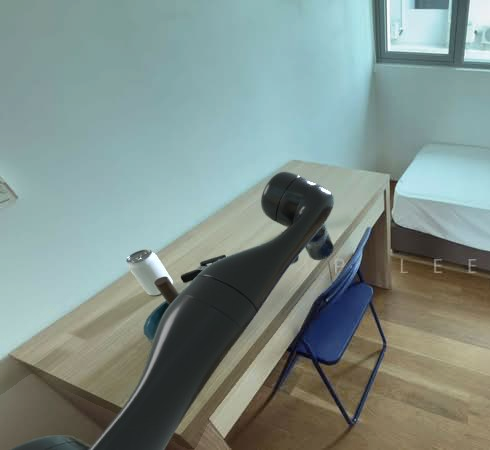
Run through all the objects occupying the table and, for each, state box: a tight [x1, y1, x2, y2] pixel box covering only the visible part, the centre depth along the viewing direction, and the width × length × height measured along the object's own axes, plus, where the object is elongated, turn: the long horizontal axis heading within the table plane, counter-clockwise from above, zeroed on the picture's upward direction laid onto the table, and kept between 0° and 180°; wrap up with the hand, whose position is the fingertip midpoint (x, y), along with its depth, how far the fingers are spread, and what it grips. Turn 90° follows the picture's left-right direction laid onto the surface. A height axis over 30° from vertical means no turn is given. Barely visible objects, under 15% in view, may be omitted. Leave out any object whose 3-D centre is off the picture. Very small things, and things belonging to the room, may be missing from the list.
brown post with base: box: [154, 277, 180, 305], centre depth 72 cm, size 5×5×15 cm
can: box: [126, 248, 174, 296], centre depth 85 cm, size 6×6×12 cm
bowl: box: [142, 300, 169, 344], centre depth 75 cm, size 16×16×5 cm
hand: (182, 290), depth 71 cm, fingers open, 8 cm apart
